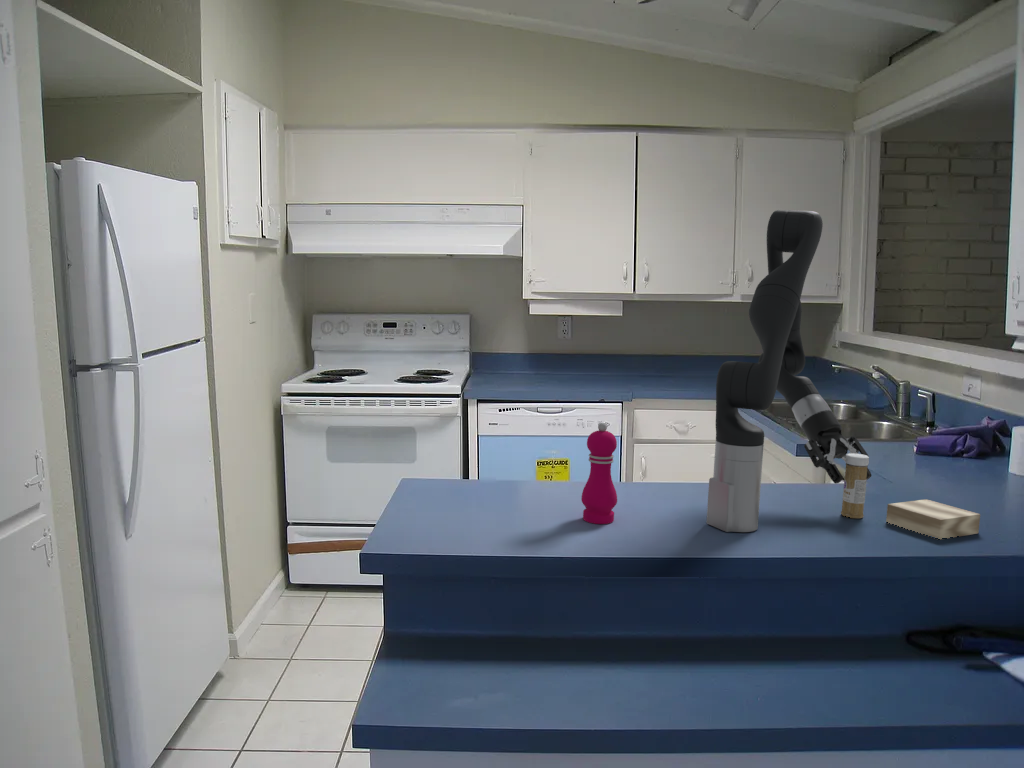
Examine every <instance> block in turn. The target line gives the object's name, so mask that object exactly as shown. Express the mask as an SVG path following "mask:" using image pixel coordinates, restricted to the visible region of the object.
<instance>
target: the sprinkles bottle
mask: <svg viewBox="0 0 1024 768" xmlns="http://www.w3.org/2000/svg"><path fill="white" fill-rule="evenodd" d="M868 456H869V455H868ZM868 456H867V455H863V454H861V453H858V454H856V453H850V452H848V453H847V454H846V458H845V461H844V463H845V471H844V473H845V474H844V478H843V480H844V482H843V491H842V505H841V511H840V515H841V514H842V515H841V516H843V517H845V516H846V517H845V518H848V517H850V518H849V519H862V518H864V517H865V515H864V508H865V503H866V493H867V491H866V490H867V481H868V480H867V479H866V477H867V467H868V466H869V463H870V461H869V460H870V456H869V457H868Z"/></svg>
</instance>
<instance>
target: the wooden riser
mask: <svg viewBox="0 0 1024 768" xmlns="http://www.w3.org/2000/svg"><path fill="white" fill-rule="evenodd" d="M885 521H886V522H888V523H887V524H889V523H890V524H889V525H892V524H894V525H893V526H895V525H897V526H896V527H898V526H899V528H901V527H903V528H902V529H904V528H905V529H904V530H907V529H908V531H910V530H912V531H911V532H913V531H915V532H914V533H917V532H918V533H917V534H920V533H921V535H923V534H925V535H924V536H926V535H928V536H927V537H929V536H932V537H935V538H938V539H940V540H943V539H942V538H947V539H951V538H950V537H953V538H957V536H959V537H964V536H970V535H971V536H972V535H977V534H979V531H980V530H979V529H980V522H981V513H978V512H974V511H970V510H966V509H963V508H959V507H956V506H952V505H949V504H945V503H942V502H937V501H934V500H930V499H927V498H926V499H918V500H908V501H902V502H895V503H894V502H893V503H892V502H891V503H887V506H886V520H885ZM886 522H885V523H886ZM932 537H931V538H932ZM935 538H934V539H935ZM938 539H937V540H938Z"/></svg>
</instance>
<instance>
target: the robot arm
mask: <svg viewBox="0 0 1024 768" xmlns="http://www.w3.org/2000/svg"><path fill="white" fill-rule="evenodd" d="M768 219H769V220H768V223H767V228H766V254H767V255H766V256H767V258H766V259H767V272H768V274H767V275H766V276H764V278H763V279H761V281H760V282H759V283H757V286H756V288H755V290H754V294H753V296H752V300H751V302H750V305H749V309H748V316H749V321H750V324H751V325H752V328H753V330H754V333H755V334H756V336H757V338H758V340H759V342H760V345H761V349H762V353H761V354H760V355H759V357H758V362H751V361H750V362H746V361H736V360H735V361H734V360H730V361H729V360H727V361H725V362H723V363H722V364H721V366H719V368H718V372H717V376H716V384H715V385H716V386H715V387H716V388H715V448H714V459H713V460H714V463H713V474H712V476H713V477H710V478H709V479H708V492H707V493H708V495H707V506H706V507H707V508H706V524H707V525H709V526H711V527H714V528H716V529H718V530H721V531H723V532H726V533H729V532H734V533H750V532H755V531H756V530H758V529H759V515H760V501H761V488H762V486H761V485H762V473H763V461H764V460H763V459H764V448H765V447H764V446H765V445H764V443H765V432H764V430H763V428H761V427H759V426H758V425H755V424H753V423H751V422H749V421H748V420H747V419H745V418H744V417H743V416H742V415H741V414H740V413H739V409H741V410H742V409H743V410H753V411H765V410H768V409H769V408H770V407H771V405H772V403H773V401H774V399H775V396H776V392H778V393H779V394H781V396H783V397H784V399H785V401H786V403H787V404H788V406H789V407H790V409H791V411H792V413H793V415H794V418H795V420H796V422H797V423H798V425H799V427H800V428H801V430H802V431H803V433H804V434H805V436H806V438H807V440H808V441H807V442H806V443H805V444H804V445H803V446H804V447H803V448H805V451H806V453H807V455H808V456H809V459H811V460H810V461H811V462H812V464H813V466H814V467H815V468H817V469H819V468H822V469H823V470H824V471H826V474H827V475H828V477H829V479H830V480H831V481H832V482H833V483H834V484H836V485H837V484H839V483H841V482H842V481H843V480H844V477H843V474H842V473H841V471H840V470H839V469H838V466H837V465H836V464H835V463H834V460H835V459H841V460H842V461H844V462H845V458H846V454H848V453H856V454H863V455H867V456H868V457H869V458H870V456H869V454H868V453H867V451H866V450H865V448H864V447H863V446H862V444H861V443H860V441H859V440H858V438H857V437H856V436H855V435H851V436H850V437H847V438H846V437H845V436H844V435H843V433H842V428H843V427H842V425H841V423H840V422H839V420H838V419H837V417H836V416H835V414H834V412H833V411H832V409H831V408H830V406H829V404H828V402H826V400H825V399H824V398H823V397H822V395H821V393H820V392H819V391H818V389H817V388H816V386H815V384H814V383H813V381H812V380H811V379H810V378H809V377H807V376H800V375H799V374H801V373H802V371H803V370H804V368H805V366H806V355H805V351H804V346H803V341H802V335H801V326H802V325H801V322H802V312H803V311H802V309H803V306H802V302H801V297H802V293H803V290H804V287H805V286H804V284H805V282H806V279H807V276H808V275H807V274H808V272H809V269H810V266H811V264H812V261H813V259H814V257H815V255H816V251H817V249H818V246H819V244H820V241H821V237H822V233H823V227H824V226H823V225H824V224H823V217H822V215H820V213H819V212H816V211H812V210H801V209H800V210H798V209H797V210H795V209H794V210H792V209H778V210H774V211H773V212H772V213H771V215H770V216H769V218H768ZM783 253H792V254H791V255H790V257H789V258H787V260H786V261H784V257H783V256H784V254H783ZM798 375H799V376H798ZM848 451H849V452H848ZM870 478H872V472H871V471H870V469H869V468H868V467H867V477H866V479H867V481H868V480H869V479H870Z"/></svg>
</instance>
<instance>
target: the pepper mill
mask: <svg viewBox="0 0 1024 768" xmlns="http://www.w3.org/2000/svg"><path fill="white" fill-rule="evenodd" d="M597 428H598V430H596V431H595V430H594V431H593V432H591V433H590V434H589V436H588V437H587V440H586V446H587V449H588V450H589V452H590V453H589V454H588V456H589V458H588V461H589V463H590V471H589V475H588V479H587V481H586V483H585V485H584V487H583V489H582V493H581V498H580V499H581V503H582V505H583V506H584V507H585V509H583V511H582V513H583V514H582V519H583V521H584V522H586V523H589V524H595V525H608V524H611V523H613V522H614V521H615V511H613V509H614V508H615V507H616V505H617V504H618V495H617V491H616V488H615V485H614V482H613V480H612V479H613V478H612V474H611V473H612V472H611V471H612V470H611V468H612V463H614V457H615V456H614V455H613V453H614V452H615V451H616V449H617V447H618V444H617V443H618V441H617V438H616V436H615V435H614V434H613V433H612V432H611V431H608V430H607V428H608V425H607V424H606V423H604V422H601V423H599V424H598V426H597Z"/></svg>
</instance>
